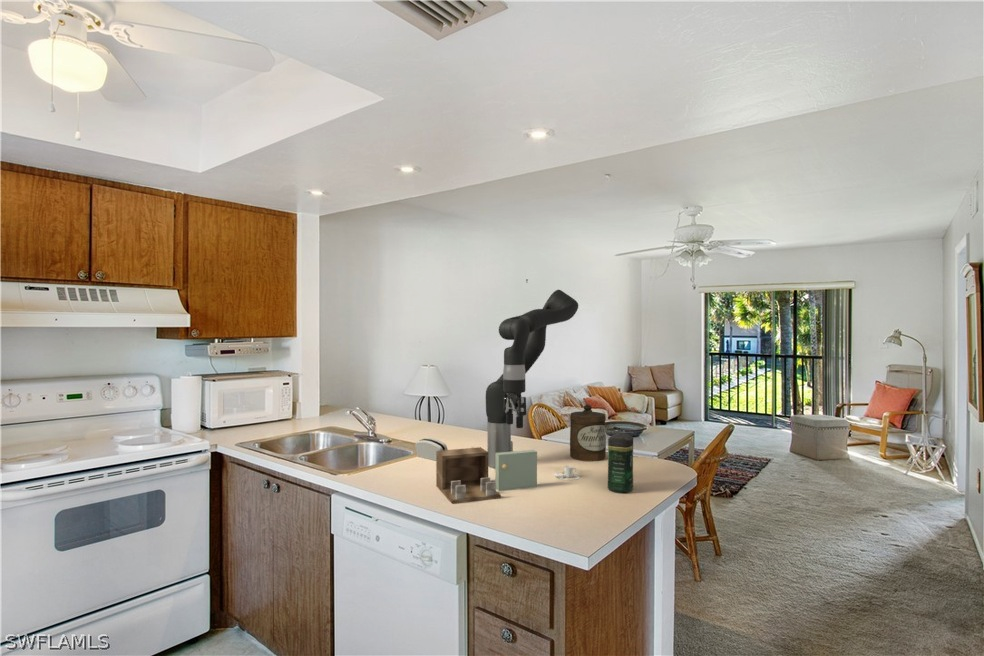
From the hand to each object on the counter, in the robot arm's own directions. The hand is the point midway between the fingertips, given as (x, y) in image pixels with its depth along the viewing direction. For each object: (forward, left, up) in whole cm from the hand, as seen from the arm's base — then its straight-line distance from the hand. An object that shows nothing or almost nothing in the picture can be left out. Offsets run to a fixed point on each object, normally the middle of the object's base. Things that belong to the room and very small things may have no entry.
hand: (514, 426), depth 176 cm
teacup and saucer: (-23, -8, -22) cm, 32 cm away
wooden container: (-46, -29, -21) cm, 58 cm away
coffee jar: (-33, +14, -21) cm, 41 cm away
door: (-1, 0, -21) cm, 21 cm away
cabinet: (+16, -1, -21) cm, 26 cm away
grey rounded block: (+16, -48, -21) cm, 55 cm away
